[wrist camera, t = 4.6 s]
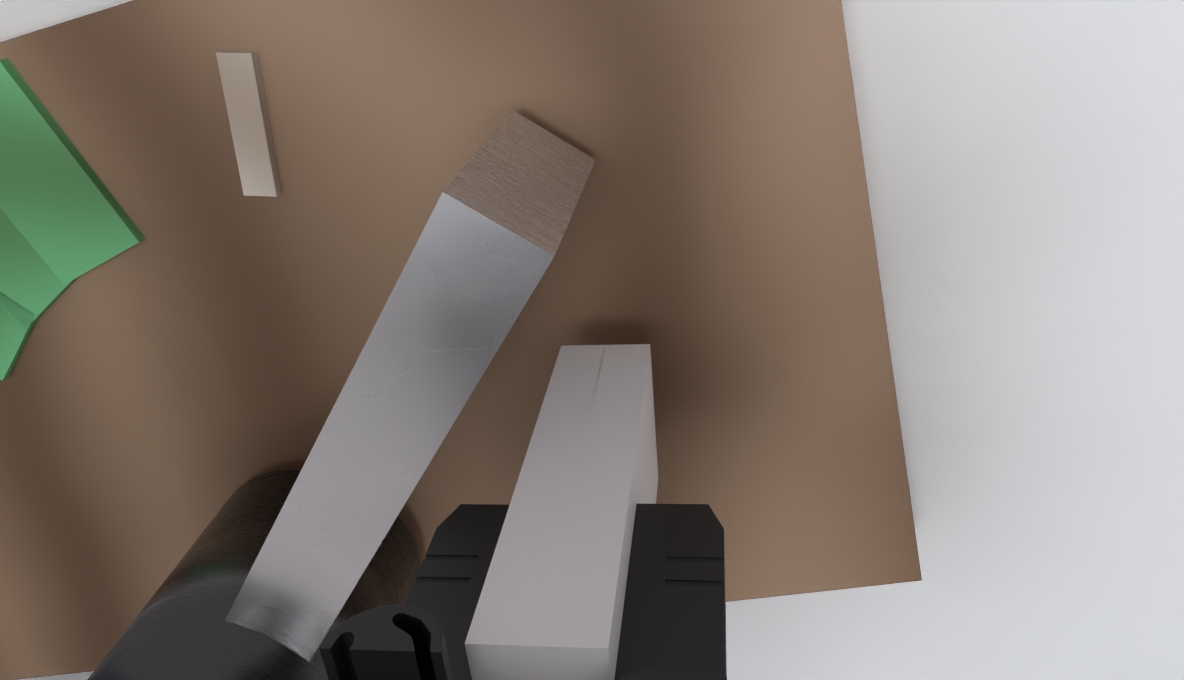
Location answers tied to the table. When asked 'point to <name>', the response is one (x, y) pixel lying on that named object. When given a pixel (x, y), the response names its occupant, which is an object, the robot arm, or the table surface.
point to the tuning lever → (365, 439)
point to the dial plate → (380, 252)
